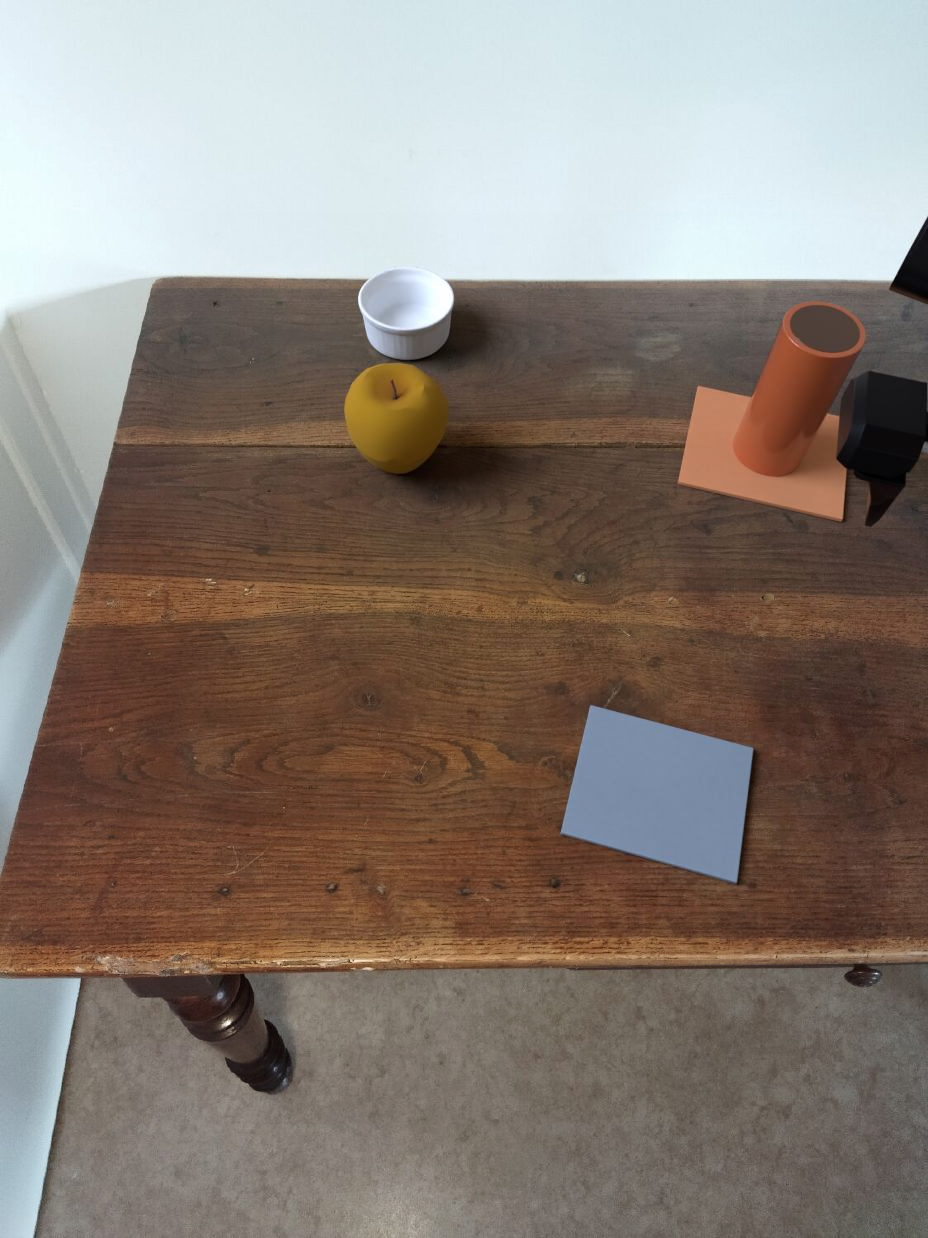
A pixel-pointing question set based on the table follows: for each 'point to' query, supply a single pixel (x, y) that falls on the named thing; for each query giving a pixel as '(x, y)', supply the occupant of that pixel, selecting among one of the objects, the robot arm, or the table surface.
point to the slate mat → (660, 793)
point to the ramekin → (406, 312)
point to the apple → (396, 416)
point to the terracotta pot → (797, 386)
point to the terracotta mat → (721, 472)
